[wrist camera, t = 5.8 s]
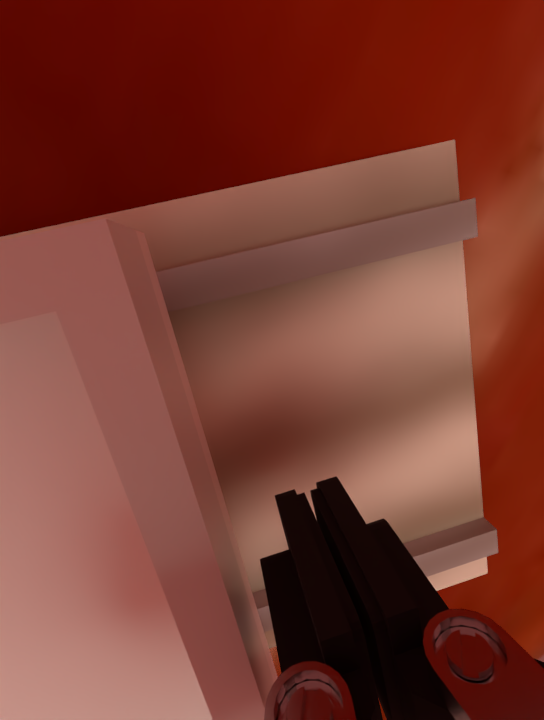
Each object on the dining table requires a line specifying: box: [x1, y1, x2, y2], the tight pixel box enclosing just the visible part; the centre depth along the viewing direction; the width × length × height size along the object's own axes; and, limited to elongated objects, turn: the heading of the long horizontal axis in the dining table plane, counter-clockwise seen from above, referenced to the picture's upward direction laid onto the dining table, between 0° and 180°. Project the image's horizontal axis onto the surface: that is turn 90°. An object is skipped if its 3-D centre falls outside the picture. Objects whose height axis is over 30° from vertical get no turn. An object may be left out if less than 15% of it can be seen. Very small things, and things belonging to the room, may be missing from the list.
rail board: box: [0, 140, 498, 649], centre depth 14 cm, size 18×34×2 cm, turn 103°
